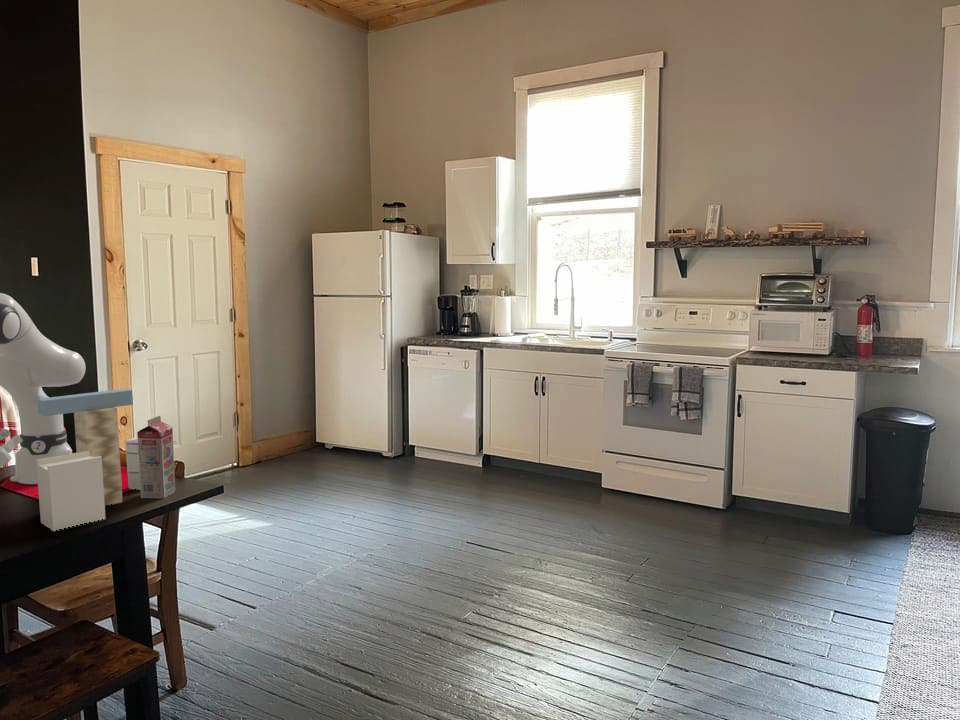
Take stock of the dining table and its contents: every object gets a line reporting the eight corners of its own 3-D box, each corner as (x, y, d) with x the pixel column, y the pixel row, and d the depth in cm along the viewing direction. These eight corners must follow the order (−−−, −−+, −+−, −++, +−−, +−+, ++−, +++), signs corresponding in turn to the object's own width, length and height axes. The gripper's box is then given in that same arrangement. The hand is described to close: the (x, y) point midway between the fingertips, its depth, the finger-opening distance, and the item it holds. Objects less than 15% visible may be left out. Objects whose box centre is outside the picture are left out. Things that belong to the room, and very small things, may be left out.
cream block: (53, 531, 176) (48, 466, 174) (40, 522, 182) (36, 459, 180) (105, 519, 185) (101, 456, 183) (91, 510, 191) (87, 450, 189)
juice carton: (140, 497, 202) (136, 420, 200) (152, 490, 209) (148, 415, 206) (164, 498, 202) (160, 420, 199) (175, 491, 209) (171, 415, 206)
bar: (43, 416, 184) (42, 400, 184) (38, 414, 187) (37, 398, 186) (132, 404, 200) (132, 390, 200) (126, 402, 203) (125, 388, 202)
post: (91, 509, 193) (85, 412, 189) (79, 502, 198) (73, 408, 195) (122, 502, 199) (116, 408, 195) (110, 495, 204) (105, 404, 201)
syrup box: (146, 490, 209) (143, 440, 207) (127, 489, 210) (124, 439, 208) (158, 484, 215) (155, 436, 213) (140, 483, 216) (137, 435, 214)
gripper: (-39, 469, 165) (19, 431, 173) (-61, 453, 179) (-6, 418, 187) (-20, 490, 168) (36, 451, 176) (-43, 472, 182) (9, 437, 190)
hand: (14, 434), depth 181 cm, fingers open, 8 cm apart
